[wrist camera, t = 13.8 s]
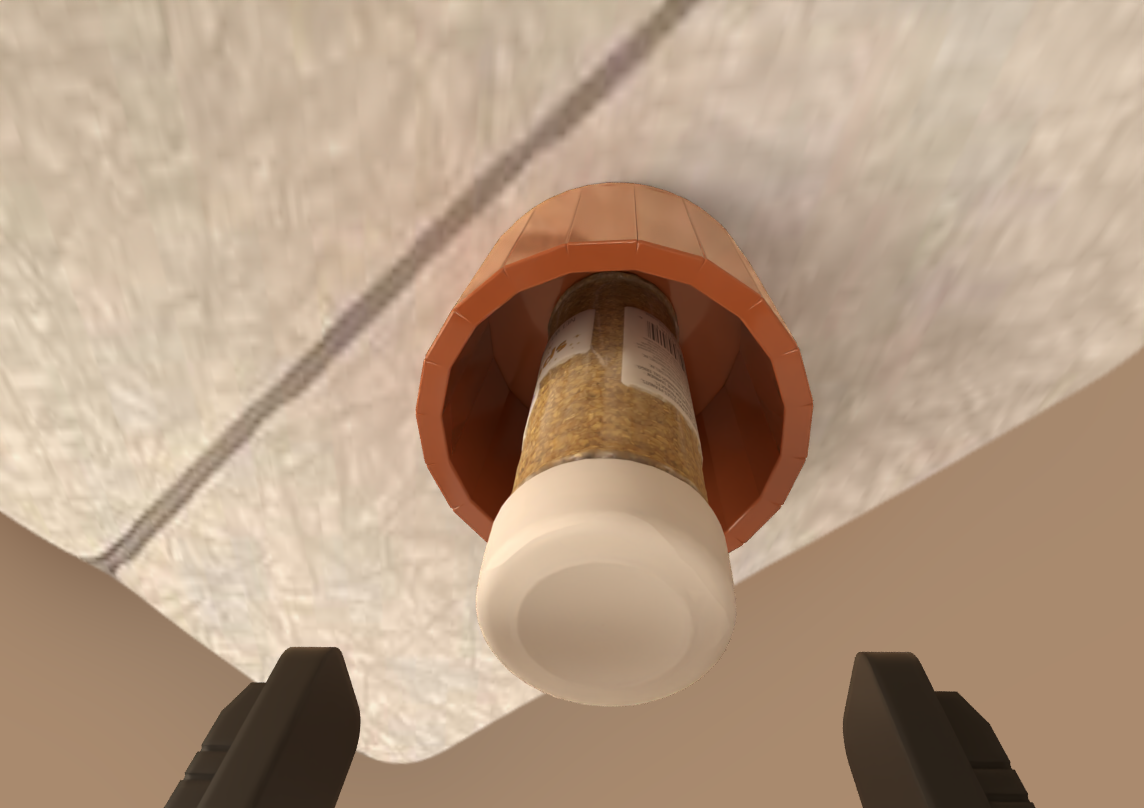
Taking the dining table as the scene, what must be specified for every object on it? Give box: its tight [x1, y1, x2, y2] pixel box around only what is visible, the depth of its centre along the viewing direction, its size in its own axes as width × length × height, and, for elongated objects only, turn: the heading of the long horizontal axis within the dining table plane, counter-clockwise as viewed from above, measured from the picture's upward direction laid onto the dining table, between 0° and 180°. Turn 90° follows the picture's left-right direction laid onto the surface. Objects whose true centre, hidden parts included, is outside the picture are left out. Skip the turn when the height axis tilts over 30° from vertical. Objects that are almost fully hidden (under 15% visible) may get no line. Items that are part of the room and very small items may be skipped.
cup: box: [416, 182, 813, 553], centre depth 20 cm, size 10×10×8 cm
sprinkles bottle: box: [476, 271, 736, 706], centre depth 17 cm, size 5×5×13 cm
